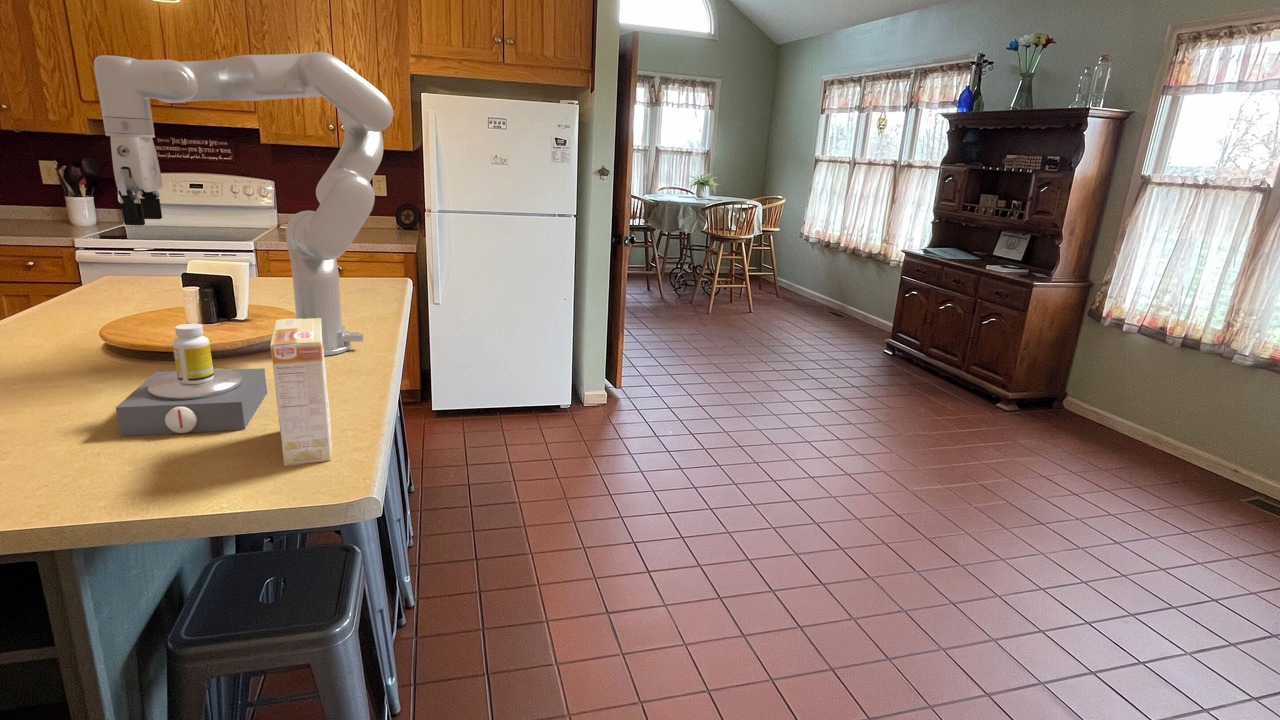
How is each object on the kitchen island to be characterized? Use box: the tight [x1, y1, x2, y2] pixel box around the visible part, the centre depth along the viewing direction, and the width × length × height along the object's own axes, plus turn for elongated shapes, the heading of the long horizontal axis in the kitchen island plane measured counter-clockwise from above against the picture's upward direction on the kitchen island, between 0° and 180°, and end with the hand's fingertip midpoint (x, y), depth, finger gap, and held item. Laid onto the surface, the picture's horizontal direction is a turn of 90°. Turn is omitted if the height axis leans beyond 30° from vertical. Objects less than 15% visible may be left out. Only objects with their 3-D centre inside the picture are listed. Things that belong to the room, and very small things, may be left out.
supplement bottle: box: [172, 322, 214, 384], centre depth 121 cm, size 5×5×10 cm
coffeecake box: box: [269, 318, 333, 467], centre depth 111 cm, size 15×7×20 cm, turn 23°
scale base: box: [115, 368, 268, 437], centre depth 123 cm, size 18×19×5 cm
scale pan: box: [147, 367, 242, 400], centre depth 122 cm, size 14×14×1 cm
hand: (144, 221), depth 134 cm, fingers open, 9 cm apart
